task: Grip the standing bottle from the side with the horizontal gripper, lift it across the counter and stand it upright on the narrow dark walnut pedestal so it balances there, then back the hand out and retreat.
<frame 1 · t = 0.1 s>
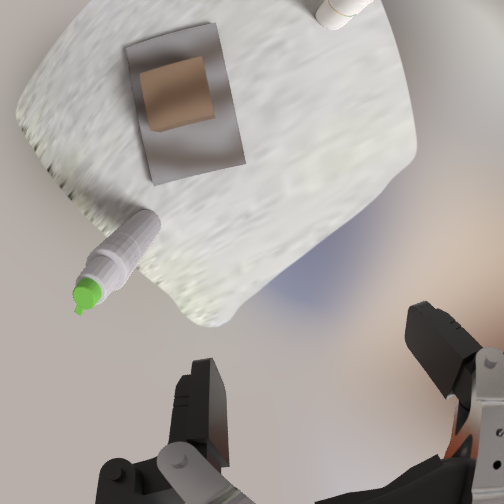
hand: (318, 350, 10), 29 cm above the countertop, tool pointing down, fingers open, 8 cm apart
tube: (329, 18, 28), on the countertop
pedestal stand: (184, 100, 32), on the countertop
bottle: (146, 224, 37), on the countertop
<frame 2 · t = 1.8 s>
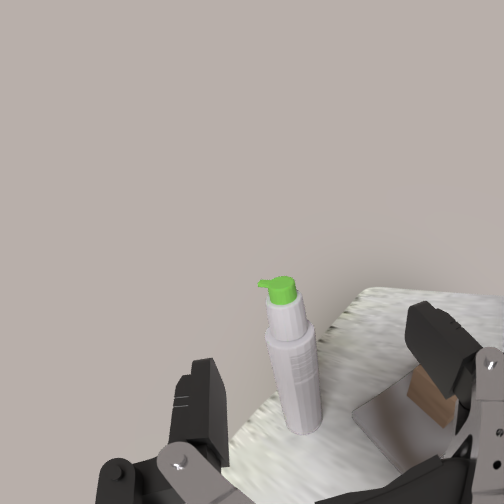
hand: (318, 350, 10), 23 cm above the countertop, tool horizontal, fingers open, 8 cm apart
pedestal stand: (440, 401, 25), on the countertop
bottle: (304, 421, 29), on the countertop
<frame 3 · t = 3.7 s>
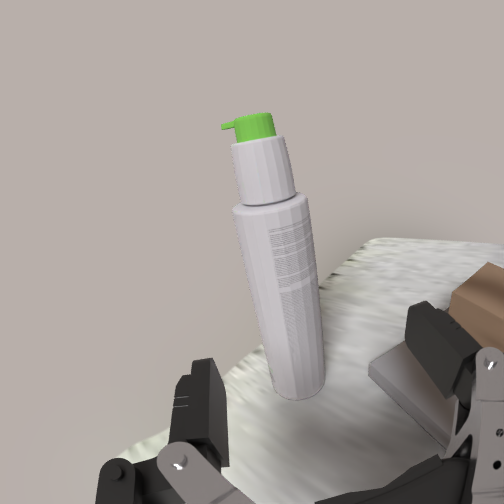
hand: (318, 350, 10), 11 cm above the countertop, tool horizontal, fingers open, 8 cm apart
pedestal stand: (484, 351, 17), on the countertop
bottle: (299, 382, 22), on the countertop
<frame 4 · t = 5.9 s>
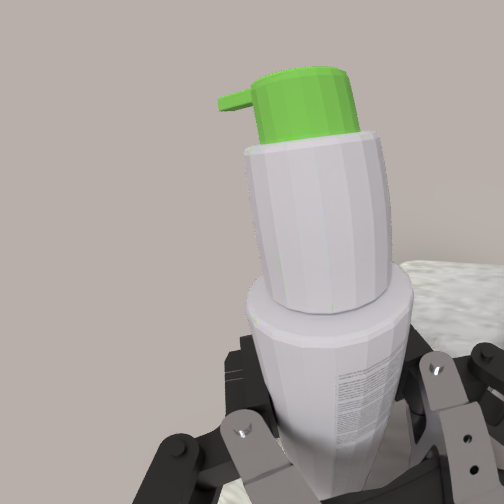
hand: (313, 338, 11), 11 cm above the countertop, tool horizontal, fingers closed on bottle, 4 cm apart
bottle: (330, 483, 13), on the countertop, touching gripper
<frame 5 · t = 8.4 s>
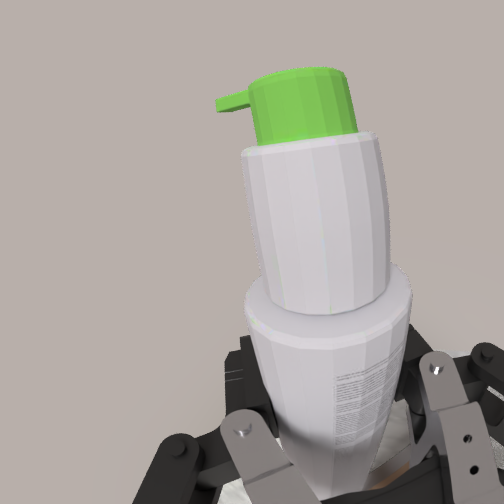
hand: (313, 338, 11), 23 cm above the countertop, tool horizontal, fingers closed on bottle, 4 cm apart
bottle: (329, 483, 13), point 12 cm above the countertop, touching gripper
when the fingers open (18 cm above the countertop, at t = 10.6 s): bottle stays where it is, resting on pedestal stand.
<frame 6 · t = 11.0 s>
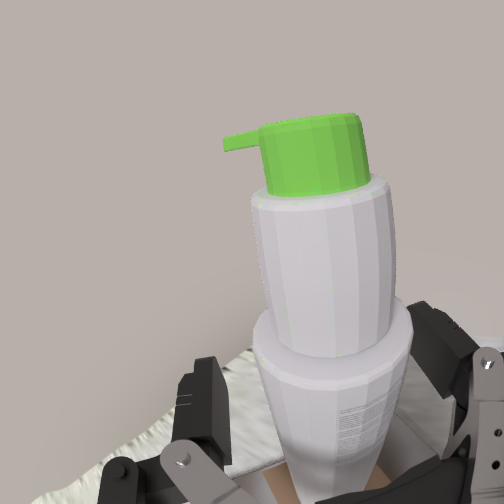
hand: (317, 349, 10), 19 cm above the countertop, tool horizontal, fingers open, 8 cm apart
bottle: (330, 489, 13), point 6 cm above the countertop, touching pedestal stand
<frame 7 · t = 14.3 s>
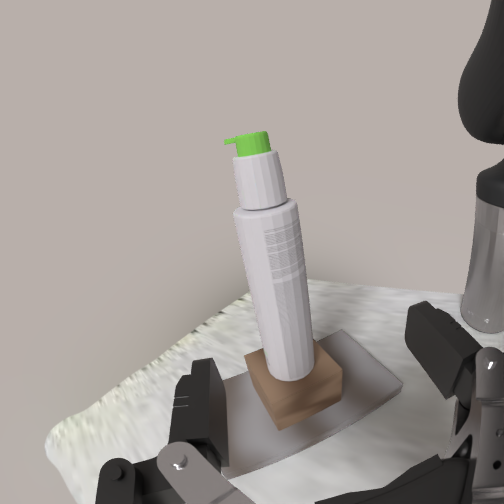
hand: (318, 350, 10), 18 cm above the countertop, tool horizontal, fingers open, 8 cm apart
pedestal stand: (296, 401, 28), on the countertop
bottle: (291, 366, 25), point 6 cm above the countertop, touching pedestal stand
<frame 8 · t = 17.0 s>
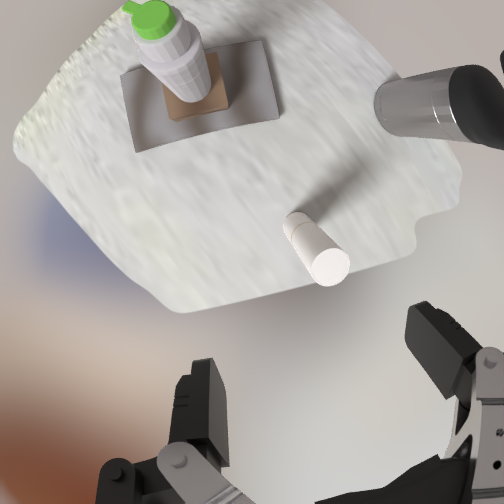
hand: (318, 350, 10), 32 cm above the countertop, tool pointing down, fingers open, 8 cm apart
tube: (296, 225, 42), on the countertop
pedestal stand: (197, 93, 34), on the countertop
bottle: (192, 85, 28), point 6 cm above the countertop, touching pedestal stand
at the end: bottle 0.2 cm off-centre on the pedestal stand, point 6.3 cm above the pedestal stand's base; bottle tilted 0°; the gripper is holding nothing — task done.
